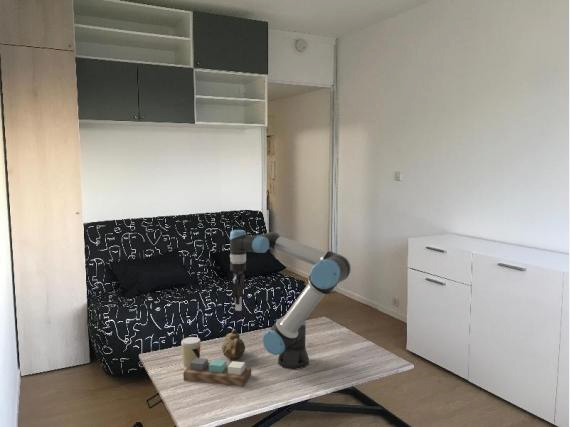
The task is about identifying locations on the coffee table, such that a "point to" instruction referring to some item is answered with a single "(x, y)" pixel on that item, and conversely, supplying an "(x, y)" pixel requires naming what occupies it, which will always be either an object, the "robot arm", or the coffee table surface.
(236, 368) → the white key
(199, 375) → the frame
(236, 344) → the carved stone sculpture
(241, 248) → the robot arm
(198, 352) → the coffee cup
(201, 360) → the charcoal key
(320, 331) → the coffee table surface
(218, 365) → the teal key
